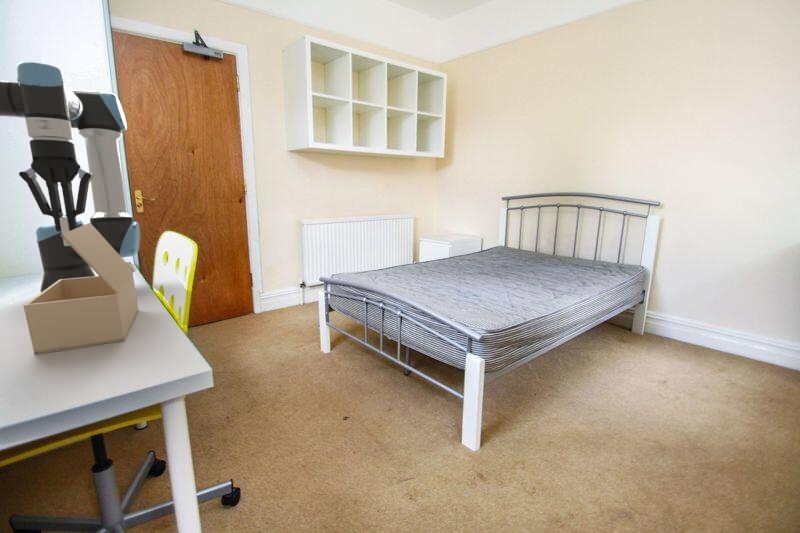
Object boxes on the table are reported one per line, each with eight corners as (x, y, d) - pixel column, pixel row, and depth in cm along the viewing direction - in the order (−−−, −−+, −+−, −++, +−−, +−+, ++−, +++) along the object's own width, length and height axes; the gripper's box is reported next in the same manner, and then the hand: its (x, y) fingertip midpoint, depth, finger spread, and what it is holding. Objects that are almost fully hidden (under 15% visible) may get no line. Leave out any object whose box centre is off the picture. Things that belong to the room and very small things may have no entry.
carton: (67, 319, 105) (59, 279, 102) (138, 310, 112) (132, 272, 109) (34, 354, 84) (23, 305, 81) (124, 340, 91) (116, 295, 88)
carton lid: (88, 223, 103) (90, 222, 103) (132, 272, 109) (133, 271, 109) (60, 234, 82) (62, 233, 82) (116, 294, 88) (118, 293, 88)
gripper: (5, 136, 81) (27, 249, 86) (83, 140, 87) (99, 245, 92) (20, 140, 88) (40, 244, 93) (91, 143, 93) (106, 241, 98)
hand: (69, 244), depth 92 cm, fingers closed
